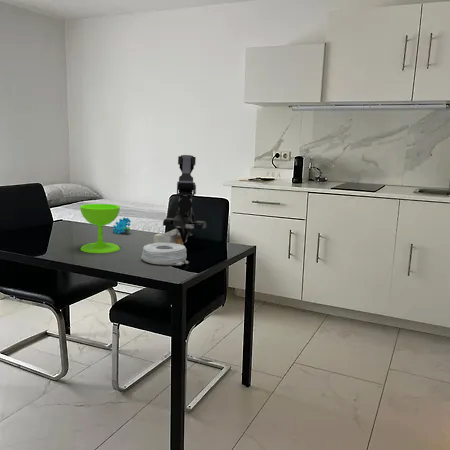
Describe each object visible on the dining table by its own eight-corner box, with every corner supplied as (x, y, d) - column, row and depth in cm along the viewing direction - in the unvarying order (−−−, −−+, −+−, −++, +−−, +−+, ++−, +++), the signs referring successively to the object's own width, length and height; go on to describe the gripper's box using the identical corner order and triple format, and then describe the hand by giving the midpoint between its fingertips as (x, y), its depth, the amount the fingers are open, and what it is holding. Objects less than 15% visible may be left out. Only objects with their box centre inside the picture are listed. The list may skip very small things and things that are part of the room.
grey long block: (177, 240, 214) (177, 228, 213) (186, 241, 213) (187, 229, 212) (159, 248, 195) (159, 235, 194) (169, 250, 194) (170, 236, 193)
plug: (157, 242, 209) (158, 233, 208) (183, 245, 205) (183, 236, 204) (153, 243, 205) (153, 235, 205) (179, 247, 201) (179, 238, 200)
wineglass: (93, 255, 180) (93, 210, 177) (73, 247, 190) (72, 205, 187) (127, 249, 191) (127, 207, 188) (106, 242, 202) (106, 203, 199)
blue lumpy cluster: (108, 228, 226) (122, 214, 229) (115, 235, 230) (128, 221, 233) (120, 235, 218) (133, 220, 221) (126, 242, 222) (140, 227, 225)
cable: (190, 266, 171) (191, 250, 170) (144, 267, 166) (144, 251, 165) (181, 254, 188) (182, 240, 187) (139, 255, 183) (139, 241, 182)
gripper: (158, 208, 194) (157, 243, 197) (198, 211, 189) (197, 248, 192) (168, 205, 205) (167, 239, 208) (207, 208, 200) (206, 243, 202)
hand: (184, 242), depth 202 cm, fingers closed
